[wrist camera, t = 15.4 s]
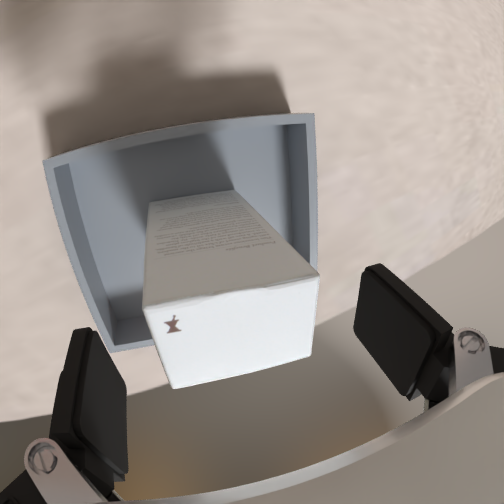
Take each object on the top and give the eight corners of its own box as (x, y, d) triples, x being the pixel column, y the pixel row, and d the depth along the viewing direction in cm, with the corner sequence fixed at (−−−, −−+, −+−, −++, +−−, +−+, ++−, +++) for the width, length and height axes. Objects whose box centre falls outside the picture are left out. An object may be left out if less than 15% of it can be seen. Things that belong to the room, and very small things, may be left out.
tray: (291, 113, 19) (314, 113, 16) (298, 283, 26) (316, 305, 23) (61, 153, 16) (42, 160, 13) (113, 324, 22) (109, 353, 19)
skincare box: (158, 258, 21) (167, 393, 10) (148, 200, 19) (136, 305, 8) (241, 244, 22) (314, 358, 12) (237, 187, 20) (323, 270, 10)
